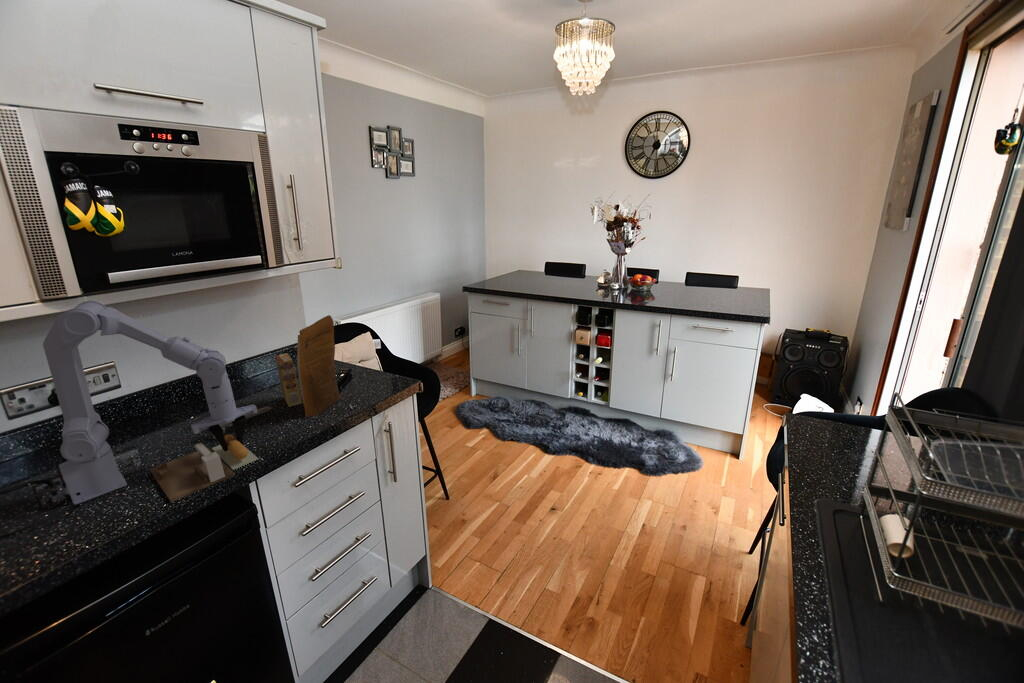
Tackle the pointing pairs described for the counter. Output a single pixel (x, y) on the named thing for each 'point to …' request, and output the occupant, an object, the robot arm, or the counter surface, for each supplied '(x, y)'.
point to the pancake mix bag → (317, 366)
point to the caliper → (260, 411)
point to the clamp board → (185, 476)
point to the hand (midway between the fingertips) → (232, 447)
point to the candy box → (288, 379)
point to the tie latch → (211, 463)
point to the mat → (231, 459)
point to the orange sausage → (235, 447)
